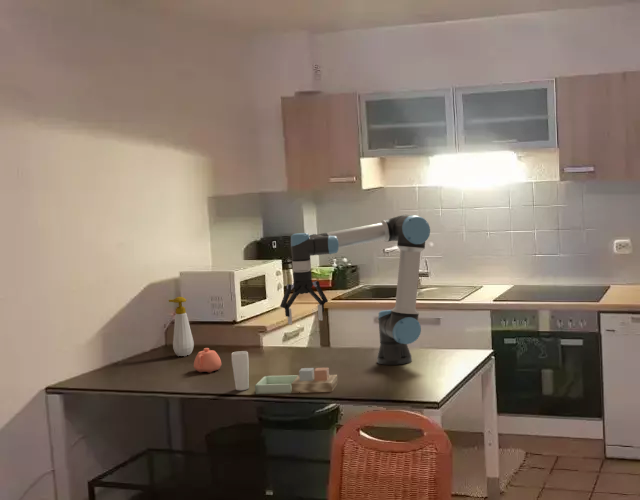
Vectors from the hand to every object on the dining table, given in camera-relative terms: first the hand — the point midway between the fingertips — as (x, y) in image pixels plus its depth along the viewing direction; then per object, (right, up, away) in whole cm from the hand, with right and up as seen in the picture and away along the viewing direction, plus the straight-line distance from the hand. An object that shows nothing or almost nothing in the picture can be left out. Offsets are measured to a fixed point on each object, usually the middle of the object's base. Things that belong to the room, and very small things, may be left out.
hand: (305, 322), depth 382 cm
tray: (-11, -26, -11) cm, 30 cm away
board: (+4, -25, -14) cm, 29 cm away
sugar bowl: (-44, -25, +32) cm, 60 cm away
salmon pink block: (+7, -21, -14) cm, 27 cm away
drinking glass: (-25, -27, -8) cm, 38 cm away
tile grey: (+1, -22, -13) cm, 25 cm away
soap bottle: (-61, -22, +73) cm, 98 cm away
